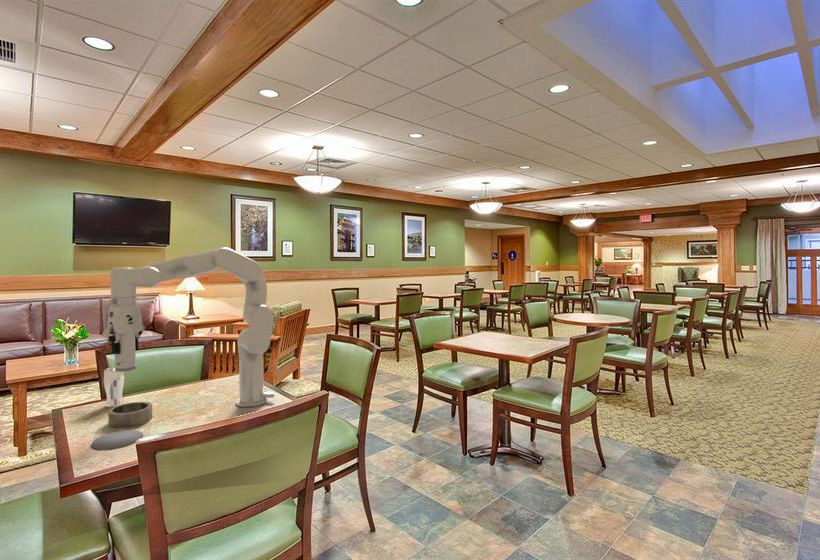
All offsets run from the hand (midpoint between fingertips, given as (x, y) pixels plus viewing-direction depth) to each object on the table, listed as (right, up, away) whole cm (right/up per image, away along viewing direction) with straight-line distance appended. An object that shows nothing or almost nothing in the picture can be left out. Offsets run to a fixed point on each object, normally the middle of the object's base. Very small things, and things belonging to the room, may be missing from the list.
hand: (125, 351), depth 152 cm
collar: (-2, -27, +7) cm, 28 cm away
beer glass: (-21, -27, +24) cm, 41 cm away
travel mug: (0, -7, 0) cm, 7 cm away
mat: (+4, -28, -10) cm, 30 cm away
